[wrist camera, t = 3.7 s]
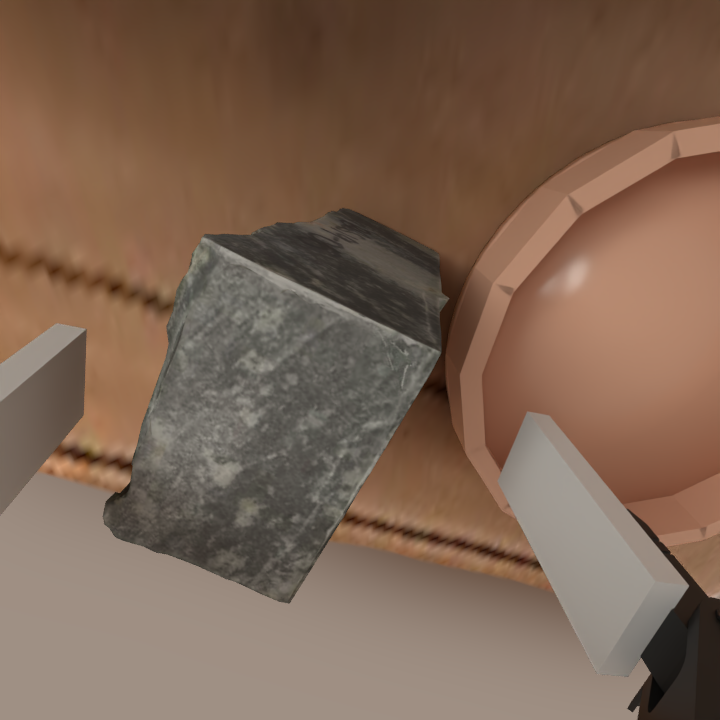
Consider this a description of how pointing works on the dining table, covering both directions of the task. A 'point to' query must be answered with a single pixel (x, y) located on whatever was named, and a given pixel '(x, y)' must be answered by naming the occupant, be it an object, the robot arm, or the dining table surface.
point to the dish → (605, 326)
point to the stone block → (279, 394)
